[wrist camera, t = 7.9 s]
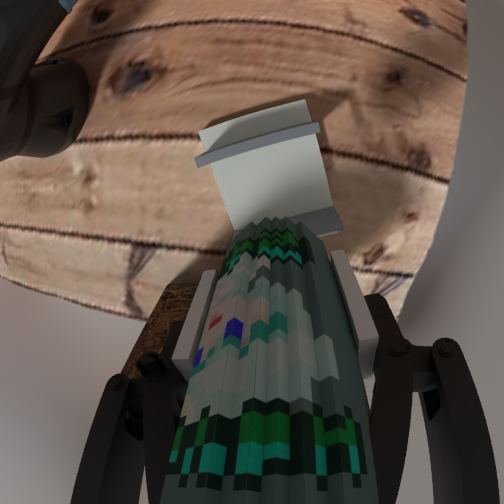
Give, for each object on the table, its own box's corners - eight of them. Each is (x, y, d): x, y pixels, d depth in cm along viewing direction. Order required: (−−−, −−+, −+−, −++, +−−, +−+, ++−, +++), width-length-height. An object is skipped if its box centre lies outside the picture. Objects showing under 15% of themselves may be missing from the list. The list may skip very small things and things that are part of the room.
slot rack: (201, 130, 29) (185, 134, 24) (303, 100, 26) (310, 96, 21) (244, 250, 36) (239, 275, 30) (336, 227, 33) (346, 250, 28)
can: (275, 197, 15) (274, 542, 2) (343, 262, 17) (410, 514, 4) (208, 263, 18) (129, 512, 5) (276, 314, 19) (269, 535, 6)
